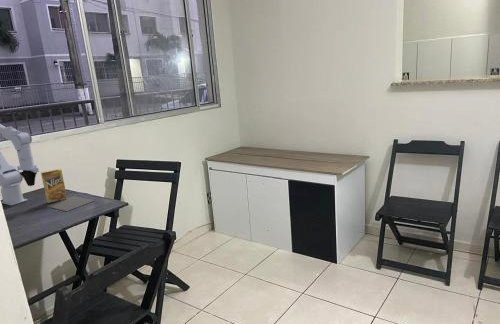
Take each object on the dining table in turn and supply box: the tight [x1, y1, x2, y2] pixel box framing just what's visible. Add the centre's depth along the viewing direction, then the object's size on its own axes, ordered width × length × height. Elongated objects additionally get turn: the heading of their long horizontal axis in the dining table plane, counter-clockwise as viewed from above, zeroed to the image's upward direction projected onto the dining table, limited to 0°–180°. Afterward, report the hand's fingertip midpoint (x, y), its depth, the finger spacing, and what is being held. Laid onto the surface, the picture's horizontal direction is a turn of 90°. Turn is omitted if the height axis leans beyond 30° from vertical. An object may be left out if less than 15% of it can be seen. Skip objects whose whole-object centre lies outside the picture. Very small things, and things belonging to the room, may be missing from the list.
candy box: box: [40, 168, 68, 204], centre depth 182 cm, size 9×4×15 cm, turn 126°
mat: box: [46, 195, 96, 212], centre depth 177 cm, size 16×15×1 cm
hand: (31, 185), depth 177 cm, fingers closed
